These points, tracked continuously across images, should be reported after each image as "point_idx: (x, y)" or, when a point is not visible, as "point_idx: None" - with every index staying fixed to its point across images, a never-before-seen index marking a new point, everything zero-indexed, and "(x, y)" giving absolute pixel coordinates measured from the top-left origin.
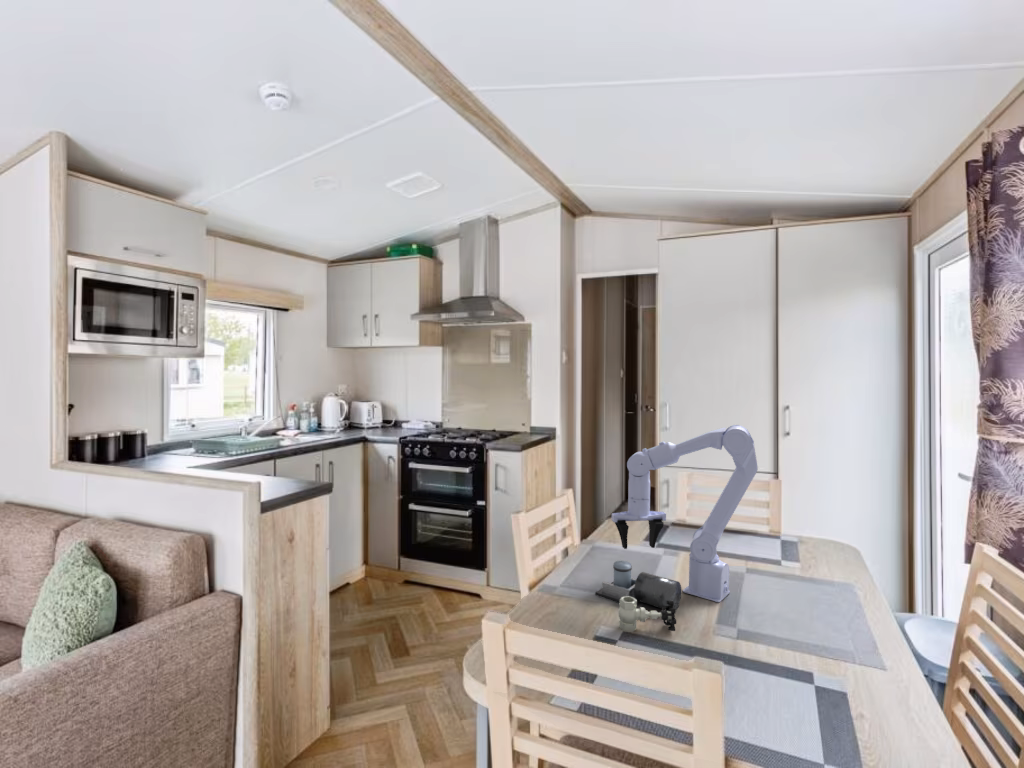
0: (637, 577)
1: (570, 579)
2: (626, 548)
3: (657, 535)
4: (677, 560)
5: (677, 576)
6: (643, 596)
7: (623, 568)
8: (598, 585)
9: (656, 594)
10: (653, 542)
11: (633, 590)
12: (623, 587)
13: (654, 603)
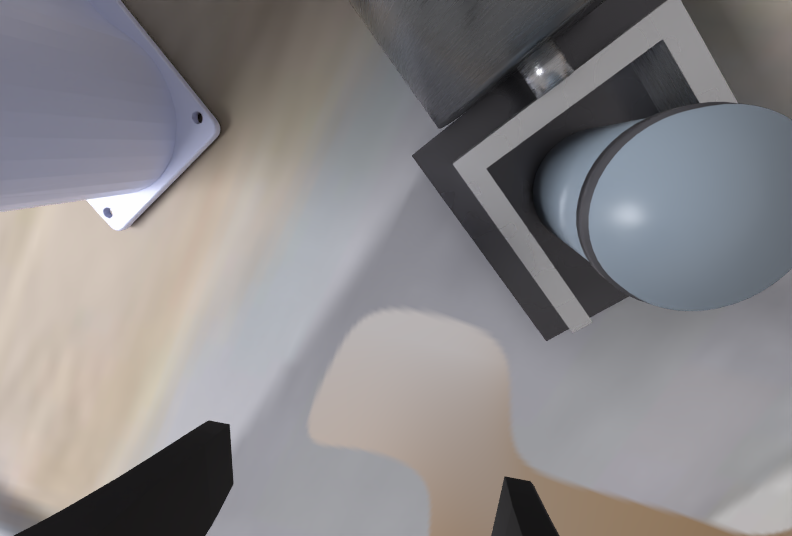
0: None
1: (779, 443)
2: (512, 480)
3: (46, 523)
4: (127, 471)
5: (182, 325)
6: None
7: (756, 111)
8: (659, 331)
9: None
10: (179, 458)
11: (594, 55)
12: (685, 71)
13: None
